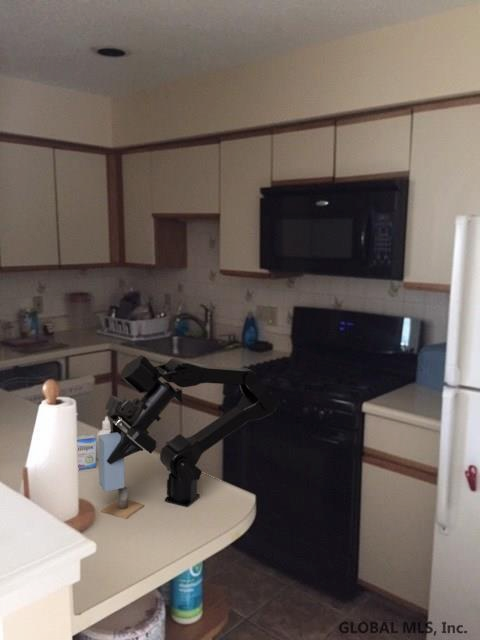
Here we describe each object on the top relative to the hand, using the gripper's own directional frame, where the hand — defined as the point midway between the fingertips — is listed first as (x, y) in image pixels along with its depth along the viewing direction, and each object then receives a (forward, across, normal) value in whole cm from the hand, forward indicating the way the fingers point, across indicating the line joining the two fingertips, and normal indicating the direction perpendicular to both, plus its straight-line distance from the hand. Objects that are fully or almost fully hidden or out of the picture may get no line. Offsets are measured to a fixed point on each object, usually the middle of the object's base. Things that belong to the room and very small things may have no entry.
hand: (105, 458), depth 126 cm
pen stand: (+6, -2, +13) cm, 14 cm away
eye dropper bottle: (+3, -33, +17) cm, 37 cm away
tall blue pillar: (+4, 0, +6) cm, 7 cm away
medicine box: (+9, -30, +11) cm, 33 cm away
